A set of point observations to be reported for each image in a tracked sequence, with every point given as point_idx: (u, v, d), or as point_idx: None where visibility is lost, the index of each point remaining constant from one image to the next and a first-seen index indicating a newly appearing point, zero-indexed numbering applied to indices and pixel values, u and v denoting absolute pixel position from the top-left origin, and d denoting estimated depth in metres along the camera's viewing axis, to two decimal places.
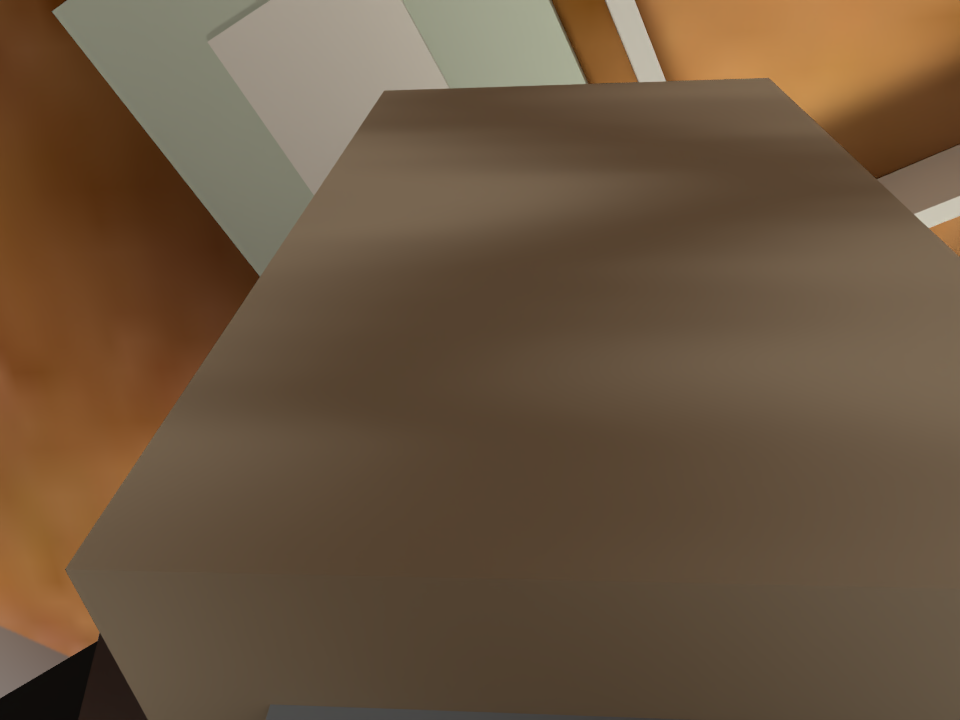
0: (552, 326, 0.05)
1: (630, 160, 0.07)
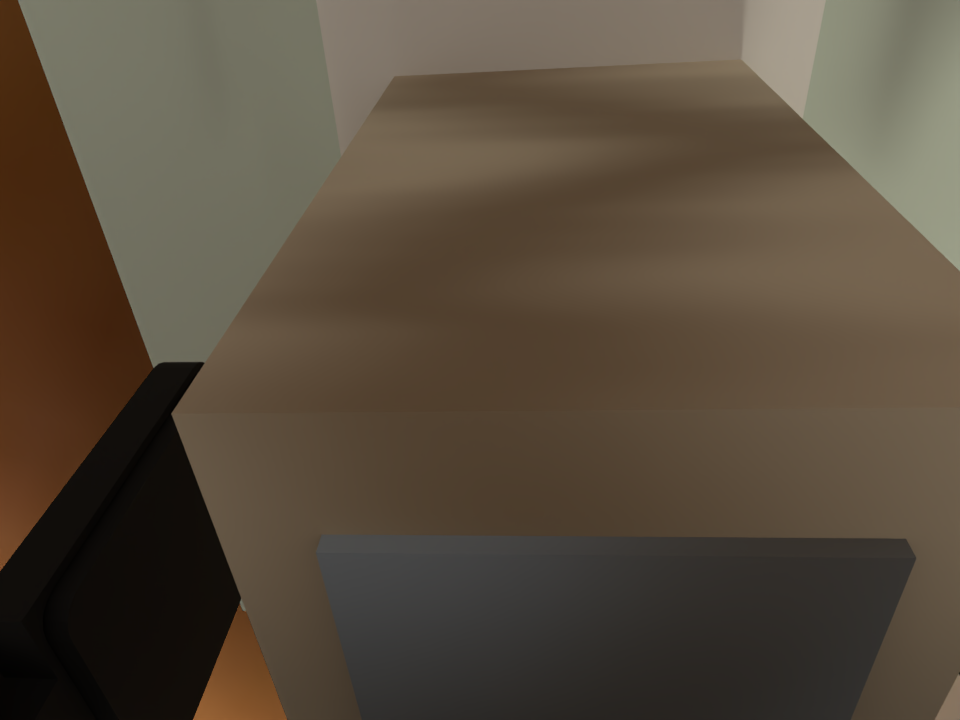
0: (541, 252, 0.06)
1: (613, 128, 0.08)
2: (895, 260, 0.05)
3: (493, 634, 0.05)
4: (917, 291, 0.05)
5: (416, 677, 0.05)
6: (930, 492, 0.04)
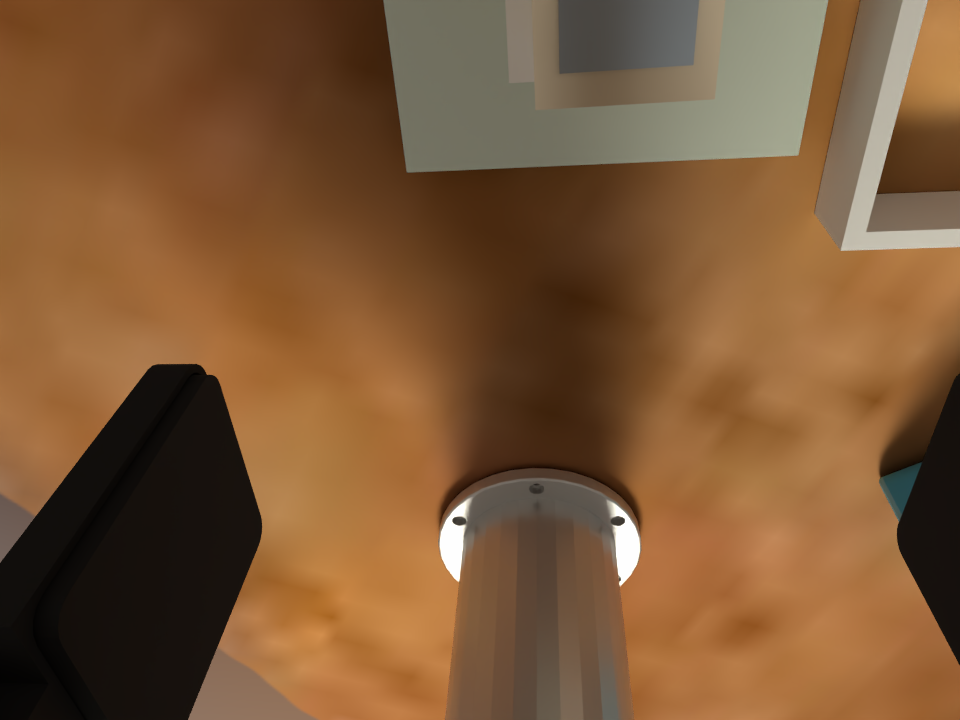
0: None
1: None
2: None
3: None
4: None
5: None
6: None
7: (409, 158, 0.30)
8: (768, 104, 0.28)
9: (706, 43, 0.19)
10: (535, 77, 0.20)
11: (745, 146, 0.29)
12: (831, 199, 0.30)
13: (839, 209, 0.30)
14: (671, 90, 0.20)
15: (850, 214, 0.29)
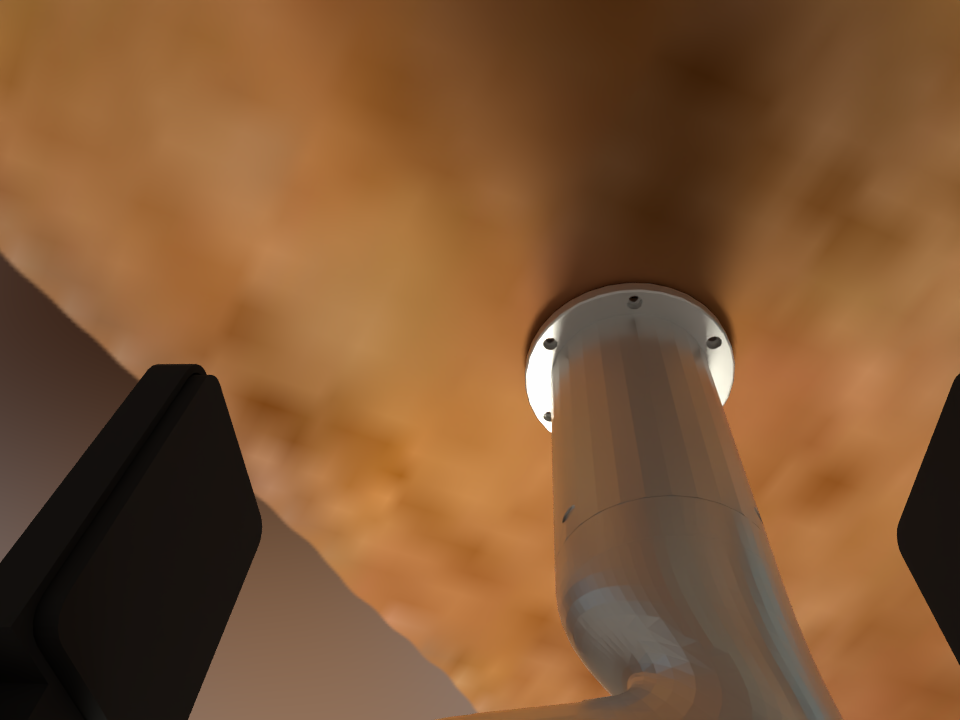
0: None
1: None
2: None
3: None
4: None
5: None
6: None
7: None
8: None
9: None
10: None
11: None
12: None
13: None
14: None
15: None
